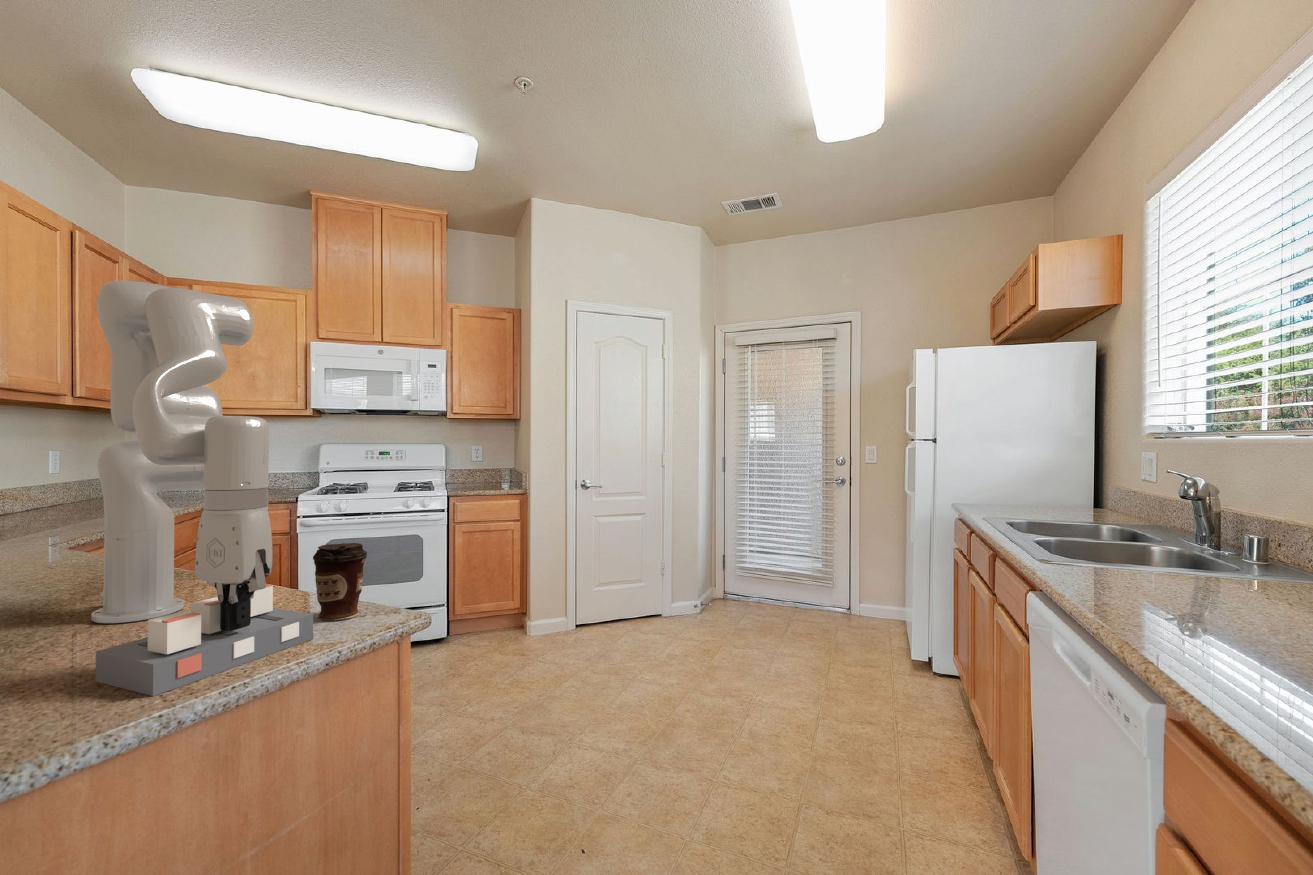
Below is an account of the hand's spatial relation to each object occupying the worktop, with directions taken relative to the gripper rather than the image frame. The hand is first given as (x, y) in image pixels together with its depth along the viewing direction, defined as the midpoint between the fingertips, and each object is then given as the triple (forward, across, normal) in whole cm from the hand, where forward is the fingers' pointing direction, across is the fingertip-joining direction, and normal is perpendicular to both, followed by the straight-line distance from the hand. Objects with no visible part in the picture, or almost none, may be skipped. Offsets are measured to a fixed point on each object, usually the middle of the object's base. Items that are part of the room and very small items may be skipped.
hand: (235, 627), depth 82 cm
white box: (+1, -1, -7) cm, 7 cm away
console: (+5, -4, 0) cm, 7 cm away
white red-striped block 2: (+1, -7, +7) cm, 10 cm away
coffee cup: (+5, -4, +21) cm, 22 cm away
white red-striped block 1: (+1, -4, 0) cm, 4 cm away
